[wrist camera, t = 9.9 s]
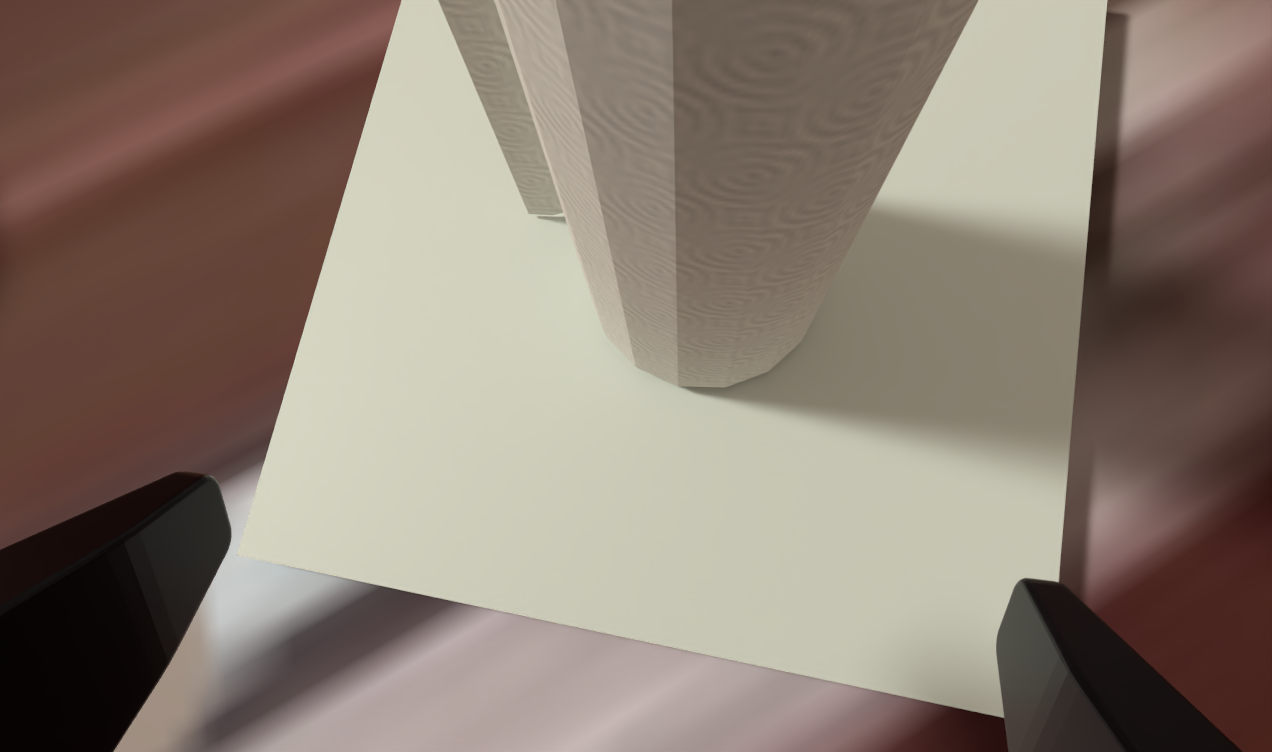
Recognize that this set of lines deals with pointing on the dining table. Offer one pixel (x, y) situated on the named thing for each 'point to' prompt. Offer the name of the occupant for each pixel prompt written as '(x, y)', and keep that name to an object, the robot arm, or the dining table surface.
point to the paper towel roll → (705, 152)
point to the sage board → (707, 391)
